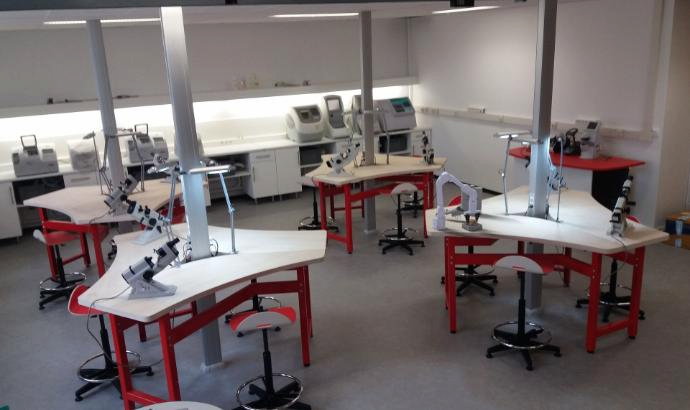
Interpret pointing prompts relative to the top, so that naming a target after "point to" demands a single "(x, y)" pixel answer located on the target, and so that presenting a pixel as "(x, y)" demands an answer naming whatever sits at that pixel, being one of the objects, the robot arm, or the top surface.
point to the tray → (471, 227)
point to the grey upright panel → (466, 198)
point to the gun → (455, 212)
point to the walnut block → (472, 222)
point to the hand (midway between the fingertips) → (472, 222)
